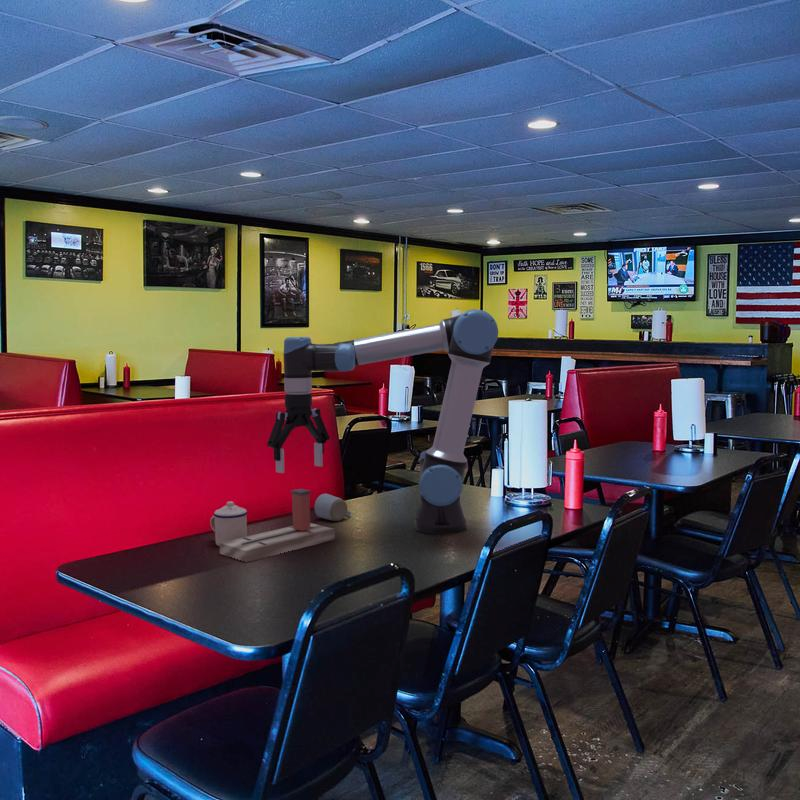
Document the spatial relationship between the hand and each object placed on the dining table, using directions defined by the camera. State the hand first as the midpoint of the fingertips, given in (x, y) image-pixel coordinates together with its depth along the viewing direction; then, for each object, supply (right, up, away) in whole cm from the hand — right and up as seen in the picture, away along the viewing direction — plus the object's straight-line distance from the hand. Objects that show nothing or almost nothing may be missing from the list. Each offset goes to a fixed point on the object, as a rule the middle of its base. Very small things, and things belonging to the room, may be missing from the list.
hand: (299, 469), depth 228 cm
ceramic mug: (+7, -18, +28) cm, 34 cm away
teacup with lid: (-20, -21, +1) cm, 29 cm away
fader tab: (0, -17, +2) cm, 17 cm away
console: (-5, -21, -4) cm, 22 cm away
